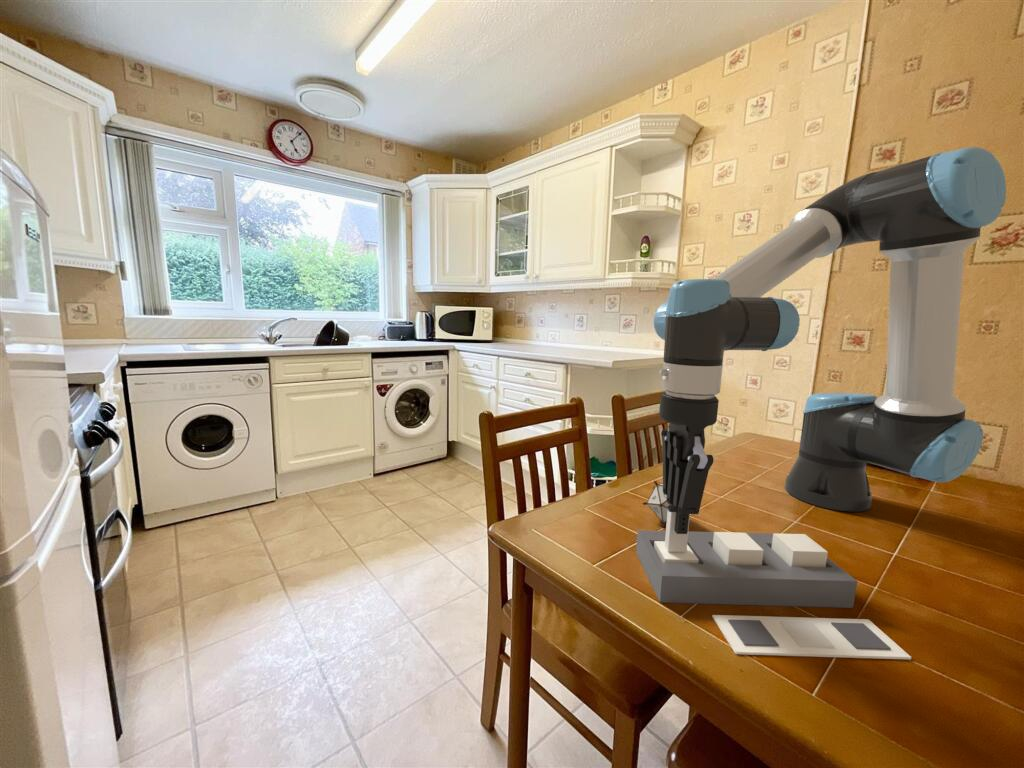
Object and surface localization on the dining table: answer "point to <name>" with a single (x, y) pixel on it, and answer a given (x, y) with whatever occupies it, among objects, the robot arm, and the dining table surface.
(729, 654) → the dining table surface
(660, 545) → the button far
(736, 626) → the pattern card
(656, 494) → the game die
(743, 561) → the middle button
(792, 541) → the button near arm
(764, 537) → the button board
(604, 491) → the dining table surface
